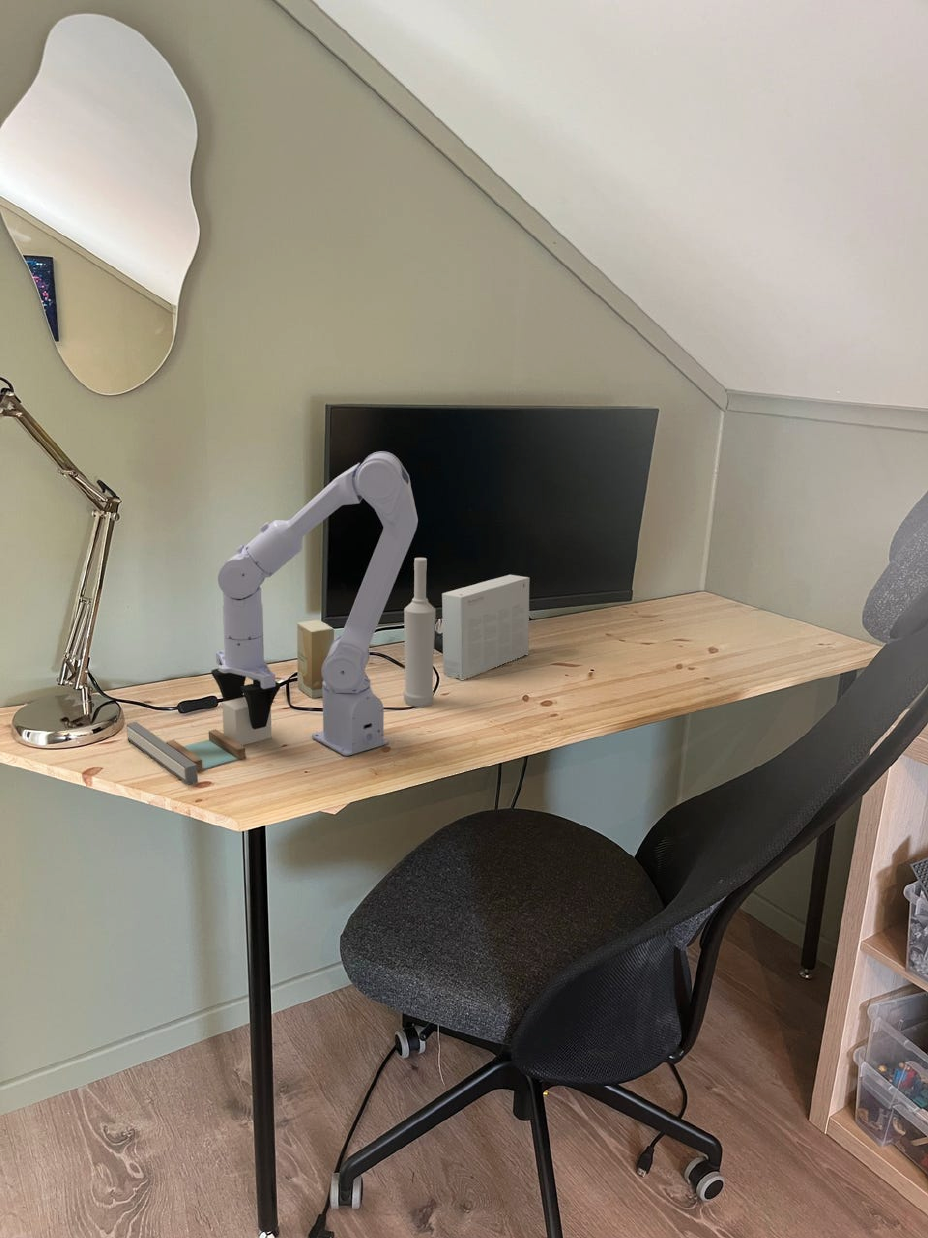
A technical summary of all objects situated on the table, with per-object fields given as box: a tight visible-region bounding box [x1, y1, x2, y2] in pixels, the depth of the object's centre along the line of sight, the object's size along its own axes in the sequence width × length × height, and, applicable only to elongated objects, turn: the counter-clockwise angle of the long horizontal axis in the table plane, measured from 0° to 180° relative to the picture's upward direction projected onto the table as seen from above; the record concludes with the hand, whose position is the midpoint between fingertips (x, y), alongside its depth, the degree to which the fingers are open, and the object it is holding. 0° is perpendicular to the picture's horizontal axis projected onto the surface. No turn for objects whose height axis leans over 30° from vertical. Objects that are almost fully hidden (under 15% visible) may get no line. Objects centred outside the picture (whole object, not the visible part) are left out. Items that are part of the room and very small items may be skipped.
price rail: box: [126, 721, 199, 785], centre depth 140 cm, size 20×2×2 cm, turn 41°
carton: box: [221, 696, 272, 746], centre depth 148 cm, size 4×6×6 cm
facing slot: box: [165, 728, 246, 773], centre depth 142 cm, size 9×8×2 cm
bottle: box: [403, 557, 436, 708], centre depth 162 cm, size 5×5×25 cm
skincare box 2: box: [441, 574, 530, 679], centre depth 184 cm, size 21×5×16 cm, turn 141°
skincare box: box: [296, 619, 335, 699], centre depth 168 cm, size 6×4×12 cm
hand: (246, 719), depth 148 cm, fingers open, 7 cm apart
